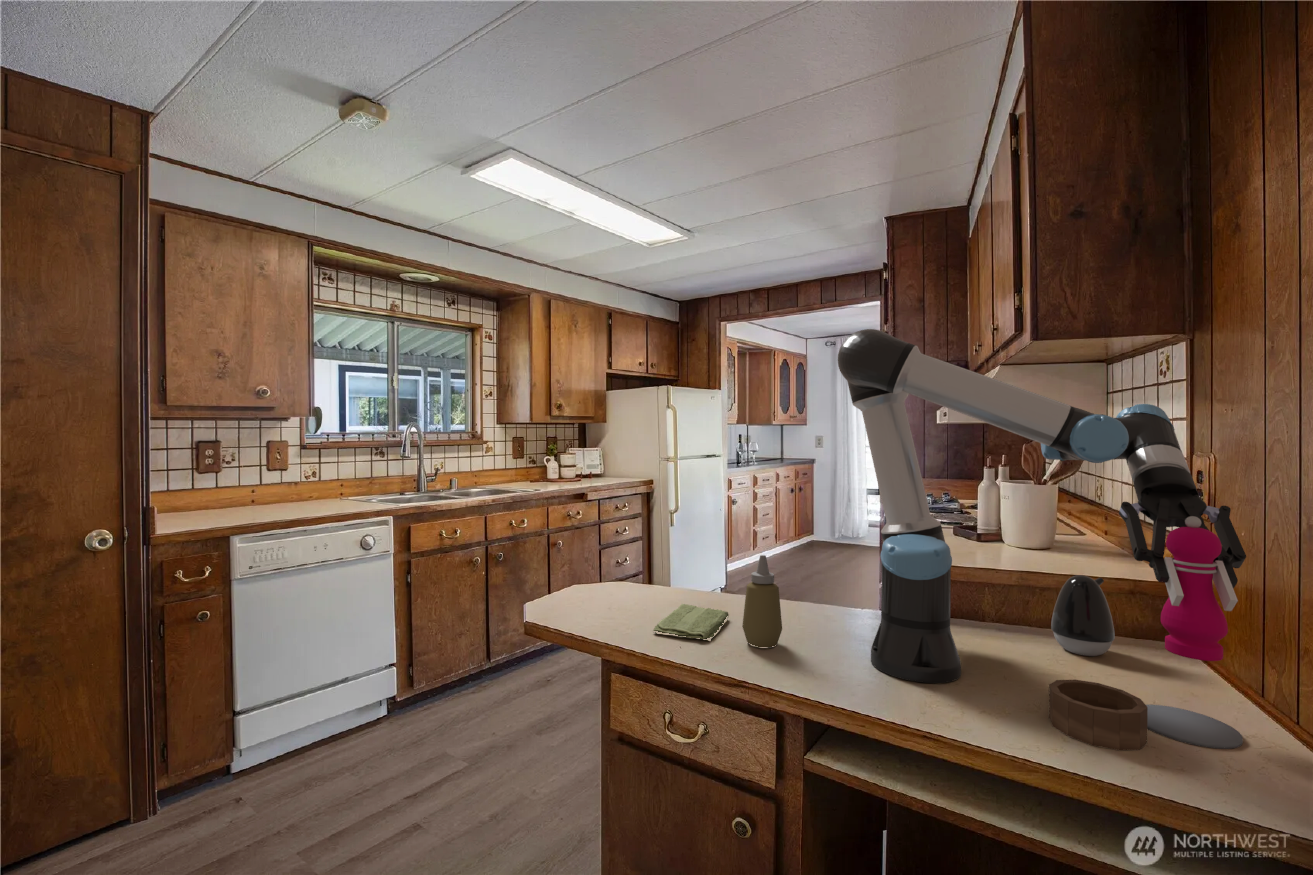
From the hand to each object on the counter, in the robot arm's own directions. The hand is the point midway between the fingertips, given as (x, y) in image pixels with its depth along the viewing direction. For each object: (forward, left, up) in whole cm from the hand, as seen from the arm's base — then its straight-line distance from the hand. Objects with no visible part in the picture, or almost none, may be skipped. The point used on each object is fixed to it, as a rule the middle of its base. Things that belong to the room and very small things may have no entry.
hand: (1204, 602), depth 82 cm
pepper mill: (-2, +3, -8) cm, 9 cm away
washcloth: (-78, -29, -20) cm, 85 cm away
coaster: (-3, +3, -19) cm, 20 cm away
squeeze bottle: (-62, -24, -19) cm, 69 cm away
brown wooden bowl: (-10, -9, -19) cm, 23 cm away
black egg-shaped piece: (-24, +27, -19) cm, 41 cm away
